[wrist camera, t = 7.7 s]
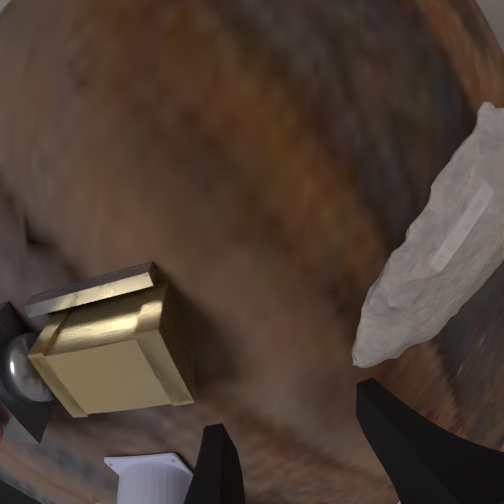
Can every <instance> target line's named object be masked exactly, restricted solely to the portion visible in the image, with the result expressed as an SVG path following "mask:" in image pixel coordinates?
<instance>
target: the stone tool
mask: <svg viewBox="0 0 504 504" xmlns="http://www.w3.org/2000/svg"><path fill="white" fill-rule="evenodd" d="M503 259H504V108H495V107H494V106H493V104H492V103H491V102H483V104H482V105H481V107H480V108H479V110H478V112H477V118H476V122H475V126H474V129H473V131H472V133H471V135H470V136H468V137H467V138H466V139H465V140H464V141H463V143H462V144H461V145H460V147H459V148H458V149H457V150H456V151H455V152H454V153H453V155H452V157H451V160H450V161H449V163H448V164H447V165H446V166H445V168H444V169H443V170H442V171H441V172H440V173H439V174H438V176H437V178H436V179H435V181H434V182H433V184H432V186H431V194H430V197H429V200H428V202H427V204H426V206H425V208H424V210H423V211H422V213H421V214H420V215H419V216H418V217H417V218H416V219H415V220H414V221H413V223H412V224H411V225H410V227H409V228H408V230H407V232H406V238H405V241H404V242H403V244H402V245H401V246H400V247H399V248H397V249H396V250H394V251H393V252H392V253H391V256H390V257H389V259H388V260H387V262H386V264H385V266H384V267H383V269H382V271H381V272H380V274H379V276H378V278H377V280H376V281H375V282H374V284H373V285H372V286H371V287H370V288H369V291H368V294H367V297H366V299H365V302H364V304H363V306H362V311H361V320H360V324H359V326H358V329H357V335H356V339H355V342H354V345H353V348H352V352H351V353H352V358H353V365H354V366H355V365H358V366H359V367H361V368H368V367H371V366H375V365H377V364H379V363H381V362H382V361H384V360H386V359H391V358H398V357H399V356H400V355H401V354H403V352H404V351H405V350H406V349H407V348H409V347H410V346H412V345H415V344H418V343H422V342H426V341H428V340H430V339H431V338H433V337H434V336H436V335H437V334H438V333H439V331H440V330H441V329H442V328H443V327H444V325H445V324H446V323H447V322H448V320H449V319H450V318H451V317H452V316H454V315H456V314H457V312H458V311H459V309H460V307H461V306H462V305H463V304H464V303H465V302H467V301H468V300H469V299H470V298H471V297H472V296H473V294H474V293H475V292H476V291H477V290H478V289H479V288H480V287H481V286H482V285H483V284H484V283H485V281H486V280H487V279H488V278H489V277H490V276H491V275H492V273H493V272H494V271H495V269H496V268H497V267H498V266H499V265H500V264H501V263H502V261H503Z"/></svg>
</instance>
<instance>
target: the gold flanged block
mask: <svg viewBox="0 0 504 504" xmlns="http://www.w3.org/2000/svg"><path fill="white" fill-rule="evenodd" d="M27 356H28V358H29V359H30V361H31V362H32V364H33V365H34V367H35V368H36V369H37V371H38V372H39V374H40V375H41V377H42V378H43V379H44V381H45V382H46V384H47V385H48V386H49V388H50V389H51V390H52V392H53V393H54V394H55V396H56V397H57V398H58V399H59V401H60V402H61V403H62V405H63V406H64V407H65V408H66V409H67V411H68V412H69V413H70V414H71V415H72V417H73V418H74V417H88V416H89V414H92V413H104V412H114V411H123V410H131V409H139V408H146V407H153V406H159V405H166V404H173V406H178V405H184V404H189V403H195V391H194V345H193V342H192V340H191V338H190V335H189V333H188V330H187V328H186V326H185V323H184V321H183V318H182V316H181V313H180V311H179V308H178V306H177V303H176V300H175V298H174V295H173V293H172V290H171V287H170V285H169V282H168V280H164V281H161V282H157V283H154V285H153V286H150V287H148V288H147V289H146V290H142V291H138V292H134V293H130V294H127V295H123V296H119V297H115V298H111V299H107V300H103V301H99V302H95V303H92V304H88V305H84V306H80V307H76V308H73V307H69V308H65V309H61V310H58V311H55V313H54V314H53V316H52V317H51V319H50V320H49V322H48V323H47V325H46V326H45V328H44V329H43V331H42V332H41V334H40V335H39V337H38V339H37V340H36V342H35V343H34V345H33V346H32V348H31V350H30V351H29V353H28V355H27Z"/></svg>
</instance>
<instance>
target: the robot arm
mask: <svg viewBox="0 0 504 504" xmlns="http://www.w3.org/2000/svg"><path fill="white" fill-rule="evenodd" d="M356 416H357V418H358V420H359V423H360V425H361V428H362V430H363V432H364V434H365V437H366V438H367V440H368V442H369V444H370V445H371V447H372V449H373V450H374V452H375V454H376V456H377V457H378V459H379V461H380V462H381V464H382V466H383V467H384V469H385V471H386V472H387V474H388V476H389V477H390V479H391V481H392V483H393V485H394V487H395V490H396V492H397V494H398V497H399V499H400V501H401V504H504V452H501V451H497V450H494V449H490V448H487V447H484V446H481V445H478V444H475V443H473V442H470V441H468V440H465V439H463V438H461V437H458V436H456V435H454V434H452V433H450V432H448V431H446V430H444V429H443V428H441V427H439V426H437V425H436V424H434V423H432V422H431V421H429V420H427V419H426V418H424V417H423V416H421V415H420V414H418V413H417V412H416V411H414V410H413V409H411V408H410V407H408V406H407V405H406V404H404V403H403V402H402V401H400V400H399V399H398V398H397V397H395V396H394V395H393V394H392V393H390V392H389V391H388V390H387V389H386V388H384V387H383V386H382V385H381V384H380V383H379V382H378V381H376V380H375V379H374V378H370V379H368V380H365V381H363V382H360V383H357V406H356ZM104 462H105V463H106V464H107V465H108V466H109V467H110V468H112V469H113V470H114V471H115V472H116V473H117V474H118V475H119V485H118V495H117V504H245V496H244V486H243V477H242V471H241V466H240V461H239V457H238V453H237V449H236V448H235V446H234V444H233V442H232V440H231V439H230V437H229V435H228V433H227V431H226V429H225V427H224V426H223V424H222V423H221V424H216V425H210V426H206V427H205V428H204V430H203V437H202V442H201V447H200V451H199V455H198V459H197V463H196V467H195V470H194V474H193V473H192V472H191V471H190V469H189V468H188V467H187V466H186V465H185V464H184V463H183V461H182V460H181V459H180V458H179V457H178V455H177V454H175V453H164V454H154V455H141V456H125V457H105V458H104Z"/></svg>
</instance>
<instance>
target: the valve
mask: <svg viewBox="0 0 504 504" xmlns="http://www.w3.org/2000/svg"><path fill="white" fill-rule="evenodd" d="M156 275H157V273H156V270H155V268H154V265H153V262H152V261H151V262H147V263H144V264H140V265H137V266H133V267H130V268H126V269H123V270H119V271H115V272H112V273H108V274H105V275H101V276H98V277H94V278H91V279H87V280H84V281H81V282H77V283H74V284H70V285H67V286H63V287H60V288H57V289H53V290H50V291H46V292H43V293H40V294H36V295H33V296H32V297H31V298H30V299H29V301H28V302H27V303H26V304H25V305H24V306H23V308H24V310H25V312H26V313H27V315H28V317H29V318H30V317H34V316H38V315H42V314H46V313H50V312H54V311H58V310H61V309H65V308H69V307H73V306H77V305H81V304H85V303H89V302H93V301H97V300H100V299H104V298H108V297H112V296H116V295H120V294H124V293H127V292H131V291H135V290H139V289H143V288H147V287H150V286H153V285H154V281H155V278H156ZM39 335H40V333H38V332H31V333H26V332H25V330H24V329H23V327H22V325H21V323H20V322H19V320H18V318H17V316H16V314H15V312H14V310H13V309H12V307H11V305H10V303H9V301H8V302H5V303H2V304H0V442H1V440H2V441H10V442H20V443H32V444H40V442H41V439H42V436H43V433H44V431H45V428H46V425H47V422H48V420H49V417H50V414H51V412H52V409H53V406H54V404H55V401H56V399H57V397H56V396H55V394H54V393H53V392H52V390H51V389H50V388H49V386H48V385H47V384H46V382H45V381H44V379H43V378H42V377H41V375H40V374H39V372H38V371H37V369H36V368H35V367H34V365H33V364H32V362H31V361H30V359H29V358H28V356H27V355H28V353H29V351H30V350H31V348H32V346H33V345H34V343H35V342H36V340H37V339H38V337H39Z"/></svg>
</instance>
